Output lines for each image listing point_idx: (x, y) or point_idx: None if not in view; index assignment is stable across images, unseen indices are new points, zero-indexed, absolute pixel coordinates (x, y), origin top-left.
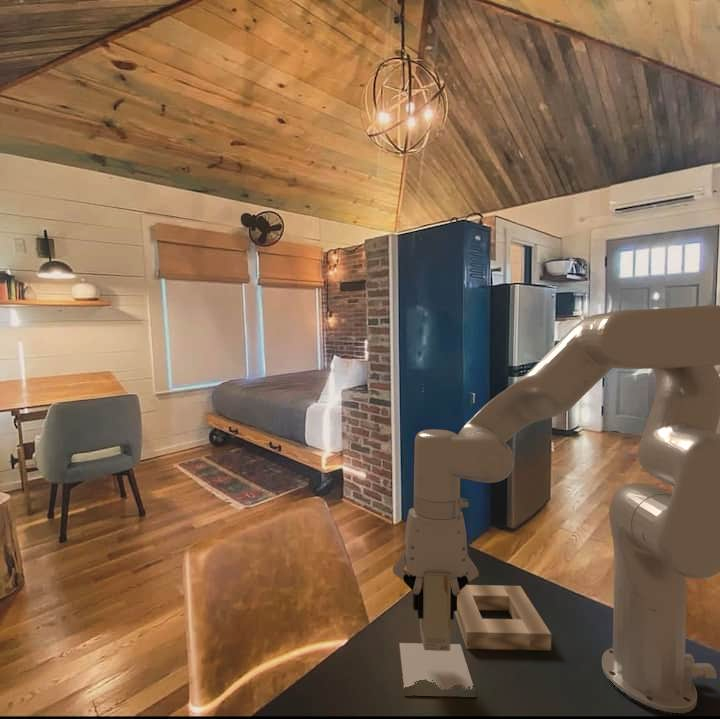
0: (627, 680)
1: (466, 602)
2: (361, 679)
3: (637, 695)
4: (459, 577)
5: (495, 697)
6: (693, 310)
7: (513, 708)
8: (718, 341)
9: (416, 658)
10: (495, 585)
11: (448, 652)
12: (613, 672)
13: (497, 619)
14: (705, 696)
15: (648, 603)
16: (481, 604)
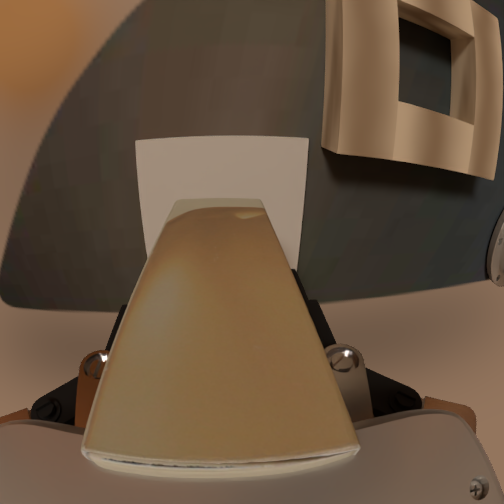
0: (502, 259)
1: (373, 22)
2: (71, 251)
3: (493, 275)
4: (380, 408)
5: (329, 277)
6: None
7: (348, 294)
8: None
9: (178, 193)
10: None
11: (268, 168)
12: (501, 238)
13: (431, 111)
14: None
15: None
16: (405, 14)
